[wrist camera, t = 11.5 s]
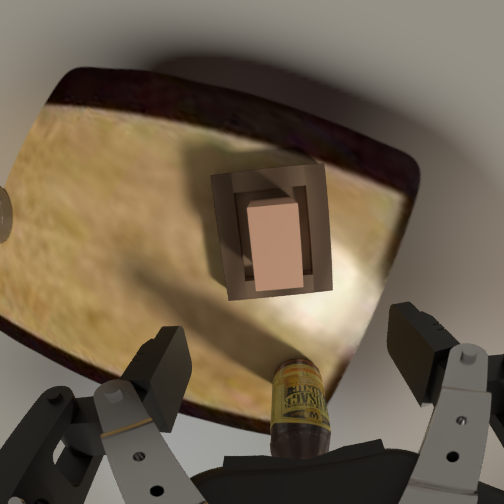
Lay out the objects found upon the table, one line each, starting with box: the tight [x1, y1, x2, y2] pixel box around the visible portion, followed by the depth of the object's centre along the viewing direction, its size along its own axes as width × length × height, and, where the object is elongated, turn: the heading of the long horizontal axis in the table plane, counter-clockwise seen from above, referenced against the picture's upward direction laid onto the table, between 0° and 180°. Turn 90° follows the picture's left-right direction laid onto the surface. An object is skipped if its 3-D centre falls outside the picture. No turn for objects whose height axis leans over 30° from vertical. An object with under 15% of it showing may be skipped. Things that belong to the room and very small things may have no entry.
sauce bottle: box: [270, 359, 331, 460], centre depth 27 cm, size 7×6×20 cm
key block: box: [247, 197, 303, 291], centre depth 28 cm, size 7×4×7 cm, turn 6°
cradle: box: [211, 163, 333, 301], centre depth 31 cm, size 11×13×2 cm
